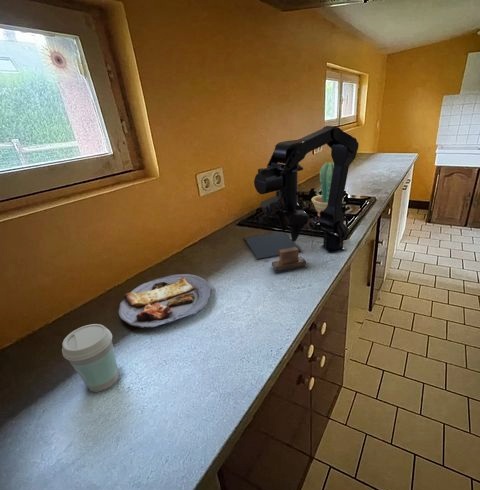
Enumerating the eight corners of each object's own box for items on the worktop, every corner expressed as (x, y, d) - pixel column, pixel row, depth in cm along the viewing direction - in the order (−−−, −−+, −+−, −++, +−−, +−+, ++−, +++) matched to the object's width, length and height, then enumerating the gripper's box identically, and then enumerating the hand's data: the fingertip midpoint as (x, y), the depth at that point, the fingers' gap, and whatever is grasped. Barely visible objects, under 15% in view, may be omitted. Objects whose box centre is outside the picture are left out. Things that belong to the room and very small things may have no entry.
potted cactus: (321, 222, 139) (323, 167, 128) (305, 212, 152) (305, 161, 140) (349, 216, 145) (353, 163, 133) (331, 207, 157) (333, 158, 146)
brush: (301, 262, 106) (301, 244, 102) (306, 267, 102) (306, 249, 99) (271, 268, 103) (271, 250, 99) (275, 274, 99) (274, 255, 96)
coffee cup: (92, 366, 67) (73, 323, 61) (131, 362, 67) (116, 320, 62) (72, 400, 59) (48, 355, 54) (117, 395, 60) (98, 350, 54)
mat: (283, 232, 130) (283, 231, 130) (301, 251, 113) (301, 250, 113) (244, 239, 126) (244, 238, 125) (257, 259, 109) (257, 258, 108)
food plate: (122, 343, 73) (118, 332, 71) (117, 296, 91) (114, 286, 90) (221, 311, 83) (219, 300, 81) (199, 274, 101) (197, 265, 99)
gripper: (253, 183, 95) (256, 229, 103) (271, 199, 80) (274, 252, 87) (286, 179, 98) (287, 224, 106) (310, 194, 83) (309, 245, 90)
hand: (288, 235), depth 97 cm, fingers open, 9 cm apart
